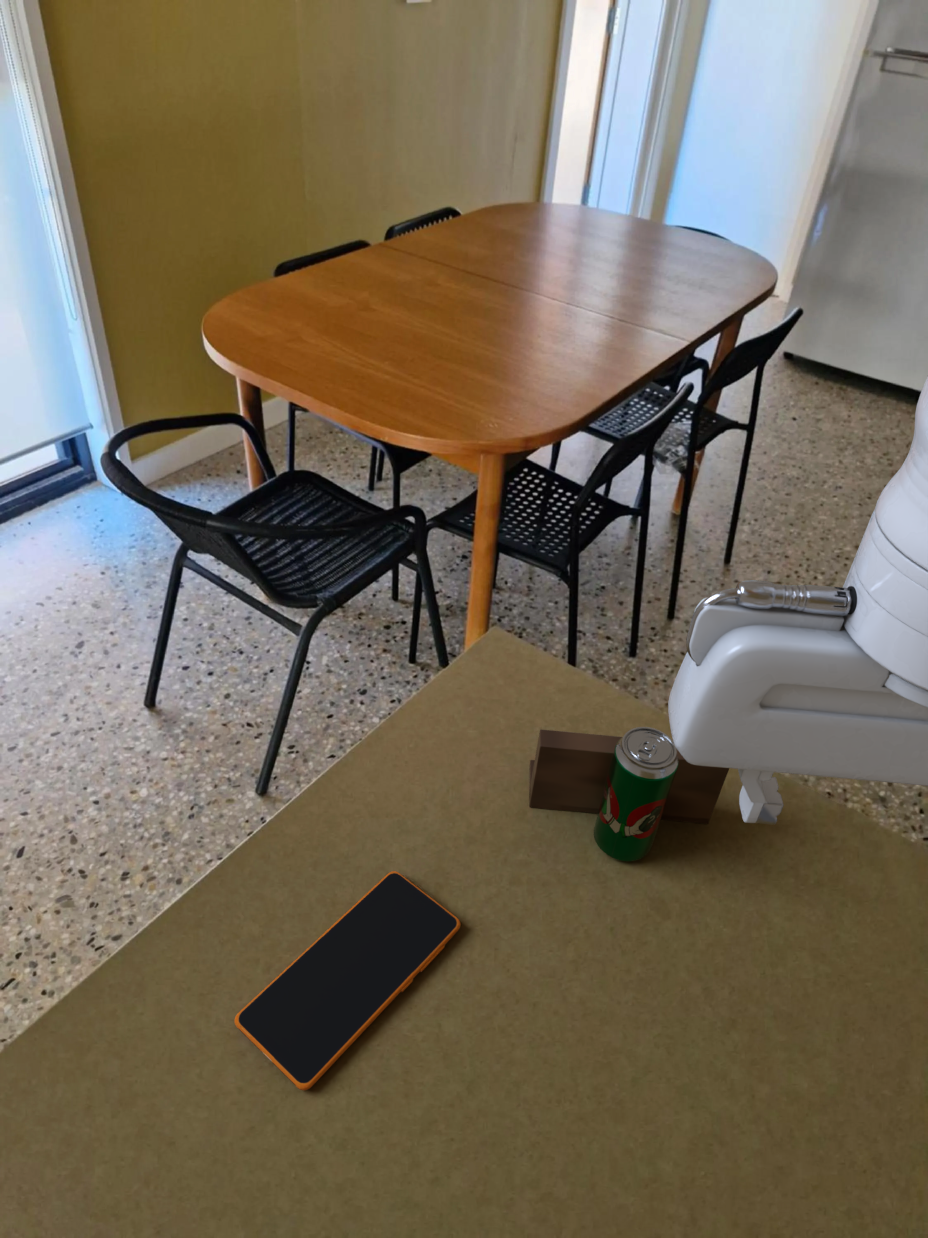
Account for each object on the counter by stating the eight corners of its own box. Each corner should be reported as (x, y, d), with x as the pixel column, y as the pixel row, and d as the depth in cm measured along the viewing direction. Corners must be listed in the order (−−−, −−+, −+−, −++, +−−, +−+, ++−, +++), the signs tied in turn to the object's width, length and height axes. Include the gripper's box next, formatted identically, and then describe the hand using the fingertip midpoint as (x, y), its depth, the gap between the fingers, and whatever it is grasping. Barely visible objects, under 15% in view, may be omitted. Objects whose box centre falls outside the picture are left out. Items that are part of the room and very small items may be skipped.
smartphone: (231, 1024, 62) (230, 1018, 62) (393, 873, 73) (393, 867, 72) (305, 1098, 59) (305, 1093, 58) (464, 928, 69) (465, 922, 69)
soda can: (659, 834, 78) (690, 740, 70) (637, 875, 74) (668, 781, 67) (606, 808, 80) (631, 714, 72) (583, 847, 76) (606, 752, 68)
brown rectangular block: (700, 781, 83) (721, 721, 78) (708, 824, 79) (731, 764, 74) (529, 765, 83) (539, 704, 78) (529, 807, 79) (540, 746, 74)
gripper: (715, 627, 33) (646, 855, 42) (1271, 675, 33) (1086, 895, 41) (692, 535, 38) (635, 756, 47) (1176, 575, 38) (1028, 791, 46)
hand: (850, 822), depth 44 cm, fingers open, 8 cm apart
